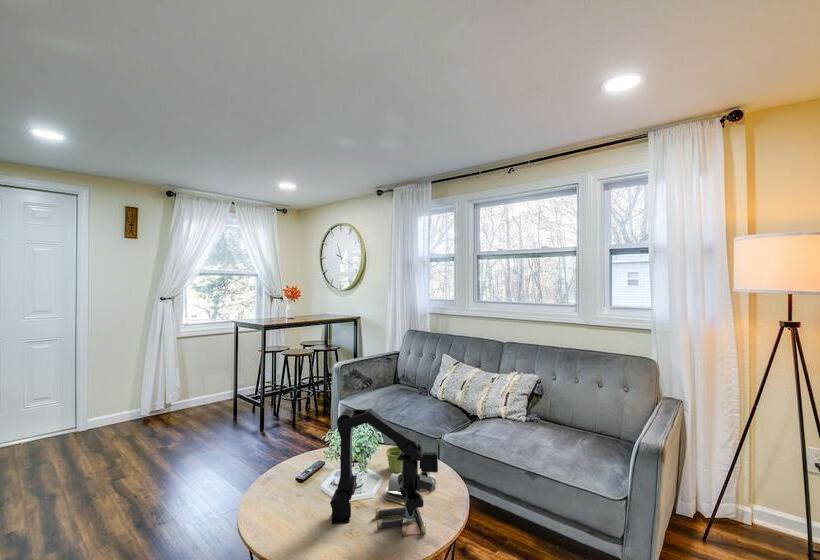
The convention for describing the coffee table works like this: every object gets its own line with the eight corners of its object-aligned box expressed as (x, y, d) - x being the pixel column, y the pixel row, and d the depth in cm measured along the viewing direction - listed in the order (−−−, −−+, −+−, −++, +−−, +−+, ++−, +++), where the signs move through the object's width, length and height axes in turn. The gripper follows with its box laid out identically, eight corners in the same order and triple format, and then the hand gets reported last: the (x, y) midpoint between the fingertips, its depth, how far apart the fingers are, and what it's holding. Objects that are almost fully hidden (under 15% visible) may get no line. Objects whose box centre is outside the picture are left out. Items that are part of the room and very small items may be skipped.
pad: (406, 535, 135) (406, 534, 135) (404, 526, 140) (404, 525, 140) (420, 533, 136) (420, 532, 136) (417, 524, 141) (417, 523, 141)
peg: (414, 519, 141) (415, 500, 141) (406, 520, 141) (406, 501, 141) (413, 513, 145) (413, 495, 145) (404, 514, 144) (404, 496, 144)
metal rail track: (379, 540, 132) (379, 531, 132) (375, 516, 145) (375, 508, 145) (426, 534, 135) (426, 526, 135) (417, 511, 149) (417, 503, 149)
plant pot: (409, 468, 182) (409, 449, 182) (398, 476, 174) (398, 457, 174) (393, 462, 187) (393, 445, 187) (381, 471, 179) (381, 452, 179)
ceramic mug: (407, 500, 156) (407, 481, 156) (387, 497, 158) (387, 478, 158) (412, 486, 166) (413, 468, 166) (394, 484, 168) (394, 466, 168)
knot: (416, 482, 170) (416, 468, 170) (433, 480, 172) (433, 467, 171) (419, 491, 163) (419, 477, 162) (438, 489, 164) (438, 475, 164)
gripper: (437, 481, 135) (437, 526, 135) (425, 457, 153) (425, 496, 153) (406, 485, 133) (406, 530, 133) (397, 459, 151) (397, 499, 151)
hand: (409, 512), depth 143 cm, fingers closed on peg, 3 cm apart
